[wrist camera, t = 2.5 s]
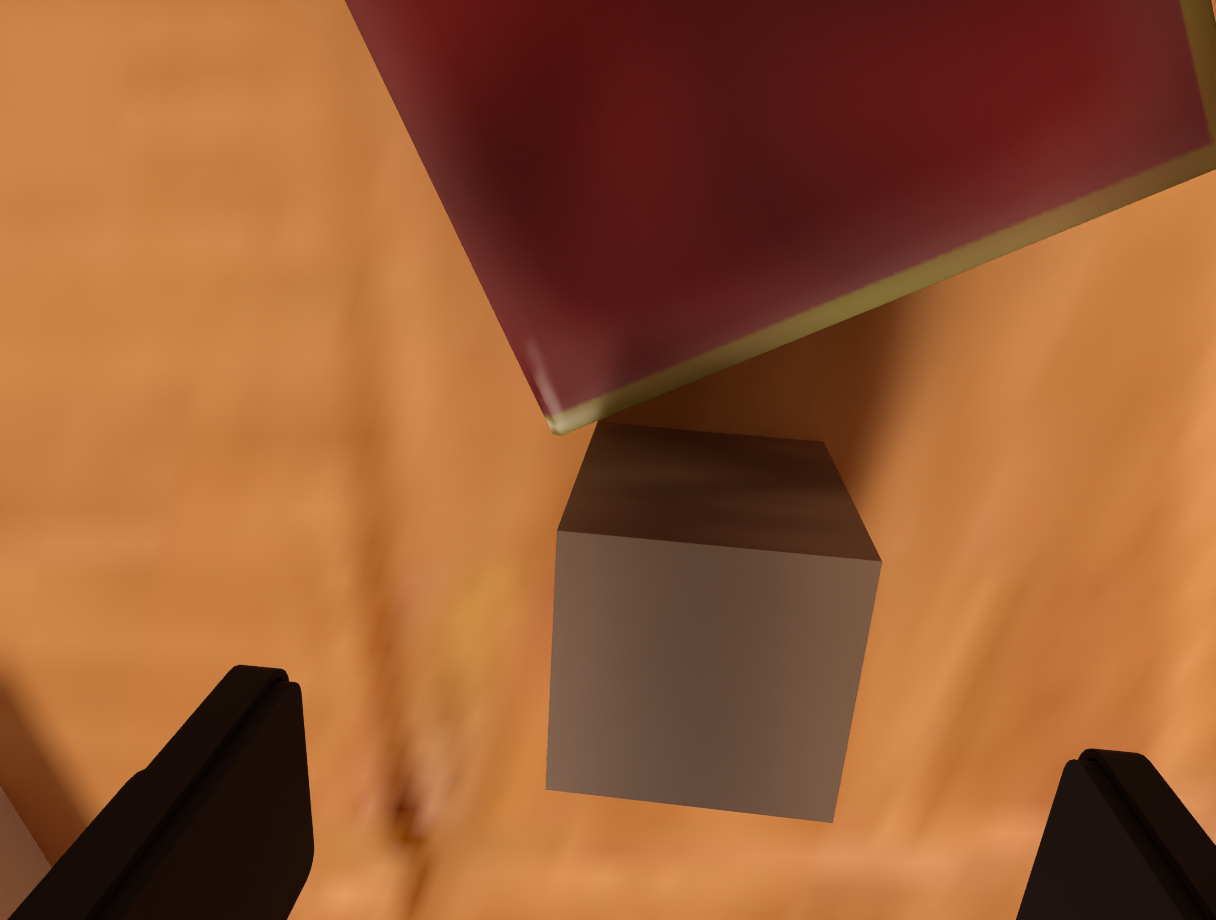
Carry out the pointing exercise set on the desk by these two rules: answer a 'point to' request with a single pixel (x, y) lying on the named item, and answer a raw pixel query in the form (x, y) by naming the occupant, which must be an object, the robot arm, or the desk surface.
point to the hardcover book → (770, 158)
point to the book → (17, 859)
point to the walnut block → (708, 623)
